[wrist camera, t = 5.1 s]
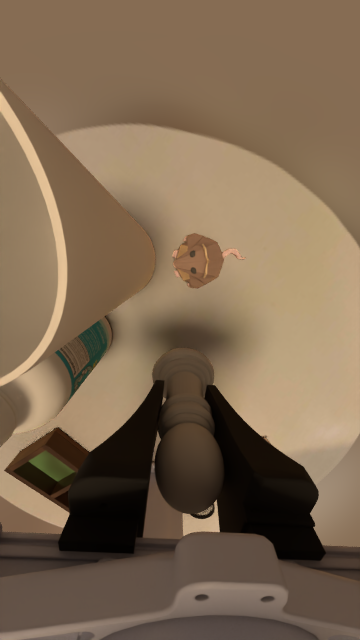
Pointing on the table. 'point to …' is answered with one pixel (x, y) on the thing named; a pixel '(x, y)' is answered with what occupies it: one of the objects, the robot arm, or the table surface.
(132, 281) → the cup
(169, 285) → the table surface
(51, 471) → the tray
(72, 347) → the pill bottle
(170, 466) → the chess piece
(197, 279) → the mouse figurine
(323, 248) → the table surface
